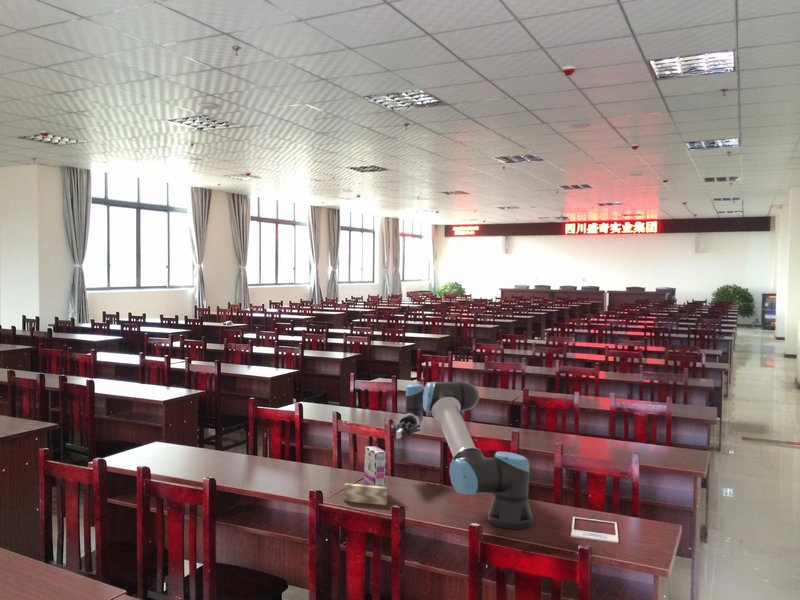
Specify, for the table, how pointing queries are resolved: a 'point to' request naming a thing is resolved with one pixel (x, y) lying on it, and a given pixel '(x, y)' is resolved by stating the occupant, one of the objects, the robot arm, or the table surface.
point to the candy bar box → (375, 466)
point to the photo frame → (594, 535)
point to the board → (365, 494)
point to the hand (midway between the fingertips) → (398, 435)
